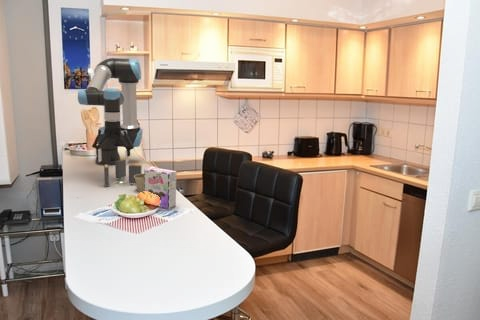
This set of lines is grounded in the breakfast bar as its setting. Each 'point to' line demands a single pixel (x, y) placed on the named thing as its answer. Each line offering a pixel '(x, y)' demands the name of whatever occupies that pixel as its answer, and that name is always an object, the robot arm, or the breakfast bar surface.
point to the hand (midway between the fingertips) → (113, 162)
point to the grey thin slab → (134, 172)
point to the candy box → (161, 185)
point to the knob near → (120, 168)
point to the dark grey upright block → (106, 175)
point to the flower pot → (139, 182)
